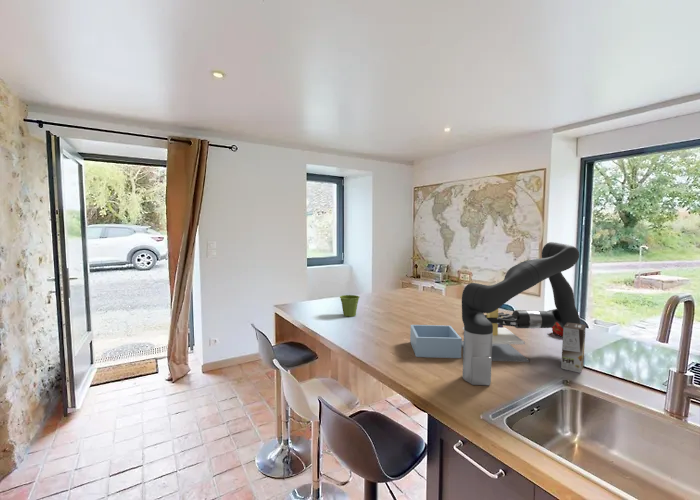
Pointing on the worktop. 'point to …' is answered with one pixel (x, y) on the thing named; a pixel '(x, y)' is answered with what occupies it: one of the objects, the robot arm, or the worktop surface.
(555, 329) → the dragon fruit
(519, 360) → the mat
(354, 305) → the plant pot
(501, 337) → the lid
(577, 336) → the coffee box
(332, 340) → the worktop surface
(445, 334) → the tub
